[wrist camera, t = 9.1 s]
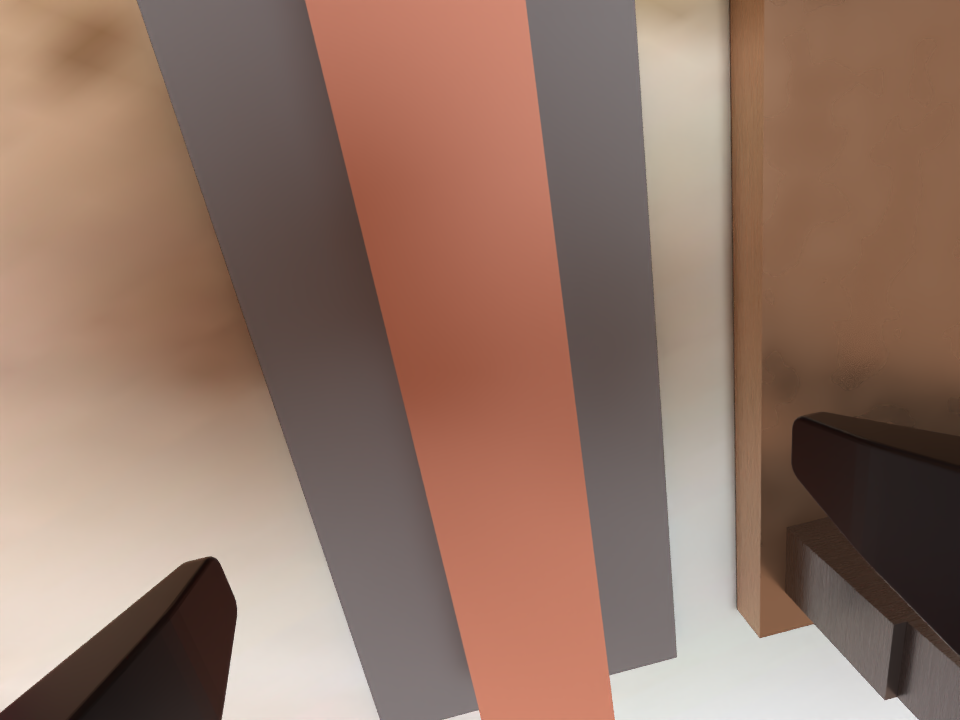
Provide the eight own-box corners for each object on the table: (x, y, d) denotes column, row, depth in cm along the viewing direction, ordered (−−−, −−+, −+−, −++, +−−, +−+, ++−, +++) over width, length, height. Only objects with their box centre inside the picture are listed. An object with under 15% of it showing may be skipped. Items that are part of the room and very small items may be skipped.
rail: (578, 644, 21) (617, 745, 17) (478, 670, 21) (495, 779, 17) (451, -220, 12) (476, -394, 8) (272, -196, 12) (215, -367, 8)
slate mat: (669, 645, 23) (676, 657, 22) (385, 720, 22) (385, 734, 21) (601, -336, 12) (611, -360, 12) (55, -272, 11) (37, -295, 11)
